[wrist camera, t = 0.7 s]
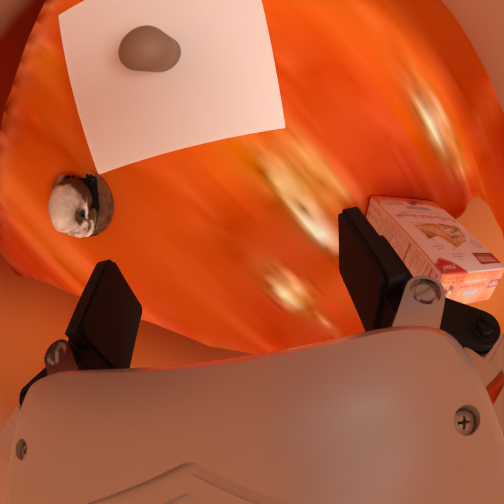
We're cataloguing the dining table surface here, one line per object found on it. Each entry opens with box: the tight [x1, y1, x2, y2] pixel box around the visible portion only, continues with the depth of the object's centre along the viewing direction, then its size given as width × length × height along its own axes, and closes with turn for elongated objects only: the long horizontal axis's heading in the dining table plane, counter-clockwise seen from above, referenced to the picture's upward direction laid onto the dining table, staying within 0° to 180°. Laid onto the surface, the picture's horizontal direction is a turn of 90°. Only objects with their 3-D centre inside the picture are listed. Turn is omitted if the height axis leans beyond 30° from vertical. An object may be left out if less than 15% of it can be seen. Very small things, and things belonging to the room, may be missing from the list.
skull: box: [48, 170, 113, 238], centre depth 37 cm, size 12×10×10 cm
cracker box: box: [366, 195, 504, 304], centre depth 35 cm, size 14×6×21 cm, turn 88°
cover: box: [58, 0, 285, 174], centre depth 22 cm, size 19×19×18 cm
